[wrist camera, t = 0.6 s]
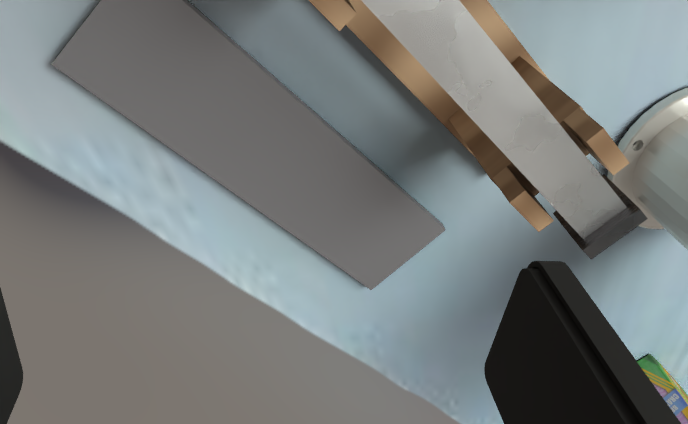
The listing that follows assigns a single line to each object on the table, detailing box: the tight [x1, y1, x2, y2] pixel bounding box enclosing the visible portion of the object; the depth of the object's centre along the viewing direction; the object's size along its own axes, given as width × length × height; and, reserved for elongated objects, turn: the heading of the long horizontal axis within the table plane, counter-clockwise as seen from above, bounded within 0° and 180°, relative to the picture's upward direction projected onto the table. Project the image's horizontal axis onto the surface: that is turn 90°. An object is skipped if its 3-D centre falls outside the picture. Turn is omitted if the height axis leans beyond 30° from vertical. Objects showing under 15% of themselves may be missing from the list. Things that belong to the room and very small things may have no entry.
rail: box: [361, 0, 648, 259], centre depth 26 cm, size 25×4×4 cm, turn 44°
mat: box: [51, 0, 445, 290], centre depth 39 cm, size 28×8×1 cm, turn 44°
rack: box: [309, 0, 629, 232], centre depth 30 cm, size 26×7×12 cm, turn 44°
